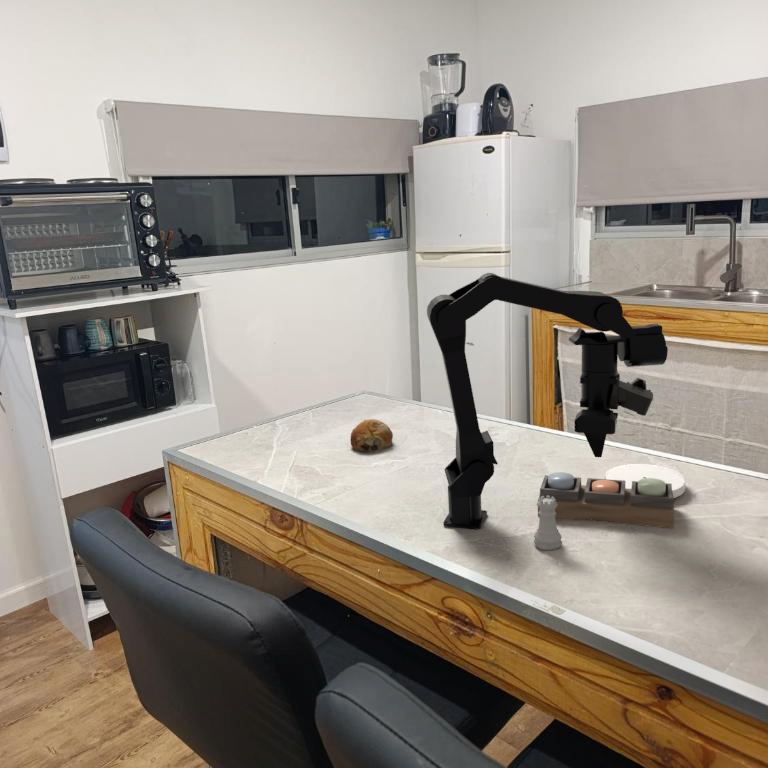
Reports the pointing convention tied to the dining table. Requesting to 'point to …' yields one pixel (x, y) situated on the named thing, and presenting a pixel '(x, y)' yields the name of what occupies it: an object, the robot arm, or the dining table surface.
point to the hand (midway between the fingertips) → (598, 456)
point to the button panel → (611, 504)
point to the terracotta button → (605, 486)
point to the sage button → (651, 487)
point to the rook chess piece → (547, 525)
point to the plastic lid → (647, 476)
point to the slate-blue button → (561, 481)
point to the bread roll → (371, 436)
